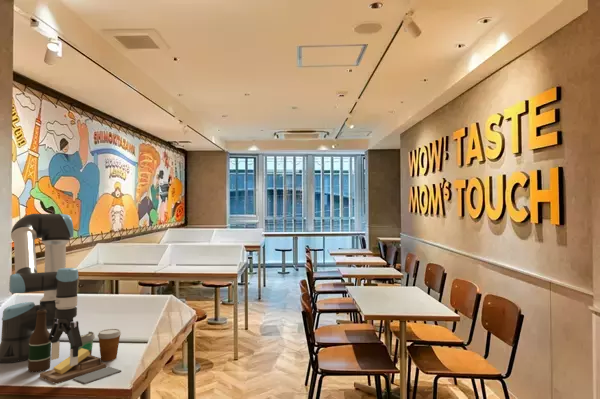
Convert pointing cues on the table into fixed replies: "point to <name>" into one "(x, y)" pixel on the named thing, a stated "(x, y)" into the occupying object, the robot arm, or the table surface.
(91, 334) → the food container
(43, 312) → the beer bottle
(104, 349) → the disposable coffee cup
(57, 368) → the mustard bar
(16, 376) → the table surface
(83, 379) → the charcoal mat
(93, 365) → the walnut jig
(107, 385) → the table surface
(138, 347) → the table surface
